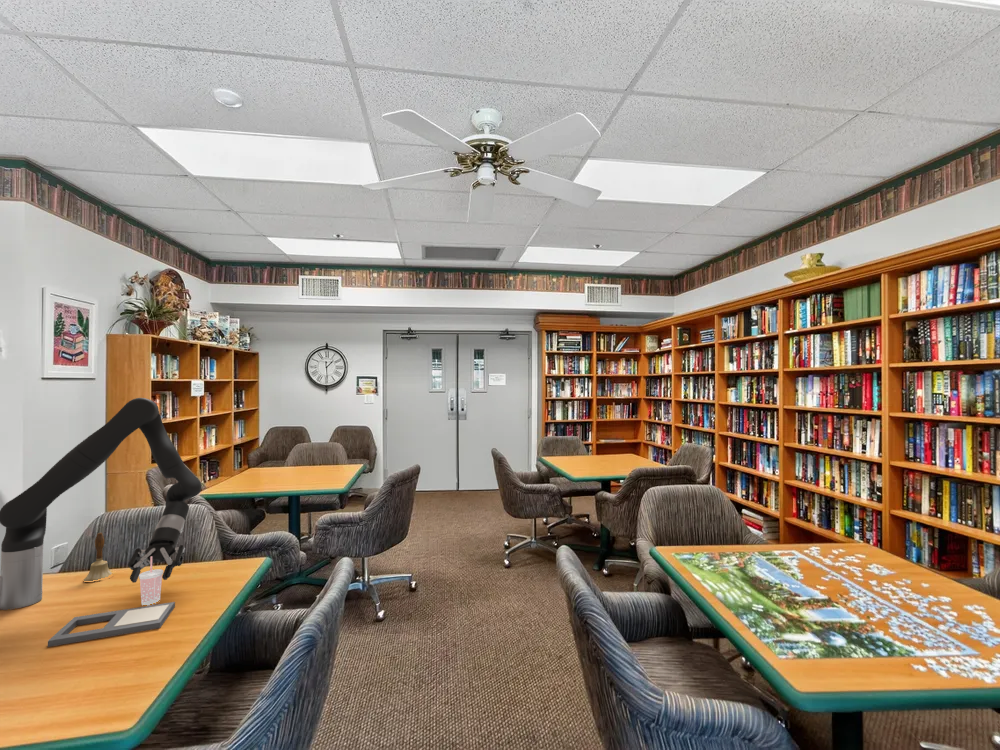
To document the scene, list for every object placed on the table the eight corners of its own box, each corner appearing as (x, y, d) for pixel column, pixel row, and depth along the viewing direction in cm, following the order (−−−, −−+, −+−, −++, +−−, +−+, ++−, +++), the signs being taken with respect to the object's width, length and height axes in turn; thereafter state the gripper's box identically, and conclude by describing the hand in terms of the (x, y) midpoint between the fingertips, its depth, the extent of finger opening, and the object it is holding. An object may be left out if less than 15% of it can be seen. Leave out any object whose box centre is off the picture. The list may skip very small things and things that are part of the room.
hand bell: (119, 574, 168) (120, 530, 168) (95, 583, 160) (96, 536, 160) (102, 573, 169) (102, 528, 170) (76, 582, 161) (77, 535, 162)
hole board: (47, 647, 118) (47, 640, 118) (74, 622, 131) (74, 616, 131) (160, 628, 127) (160, 621, 127) (174, 606, 140) (174, 601, 140)
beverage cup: (158, 596, 148) (159, 551, 148) (166, 601, 144) (166, 555, 145) (135, 603, 143) (135, 557, 143) (142, 608, 139) (143, 561, 140)
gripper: (139, 527, 150) (117, 577, 139) (188, 524, 153) (170, 572, 142) (148, 539, 155) (127, 587, 144) (195, 535, 158) (178, 583, 147)
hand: (148, 580), depth 143 cm, fingers open, 8 cm apart
